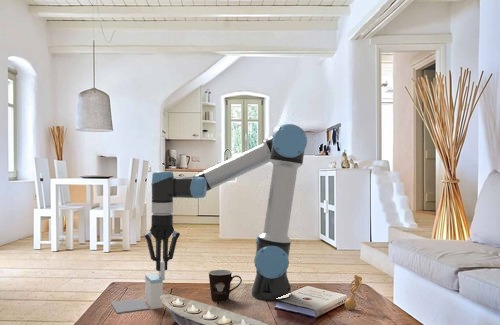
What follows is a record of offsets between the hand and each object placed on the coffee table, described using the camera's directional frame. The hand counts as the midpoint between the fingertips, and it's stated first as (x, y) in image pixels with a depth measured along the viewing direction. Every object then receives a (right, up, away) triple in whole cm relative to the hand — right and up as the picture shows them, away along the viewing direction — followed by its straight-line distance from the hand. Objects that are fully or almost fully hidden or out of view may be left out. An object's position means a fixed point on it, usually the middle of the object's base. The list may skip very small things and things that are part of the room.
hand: (161, 279), depth 167 cm
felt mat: (-11, -9, -3) cm, 14 cm away
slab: (-3, -9, -1) cm, 9 cm away
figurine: (+68, -9, -6) cm, 68 cm away
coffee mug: (+22, -9, +5) cm, 24 cm away
